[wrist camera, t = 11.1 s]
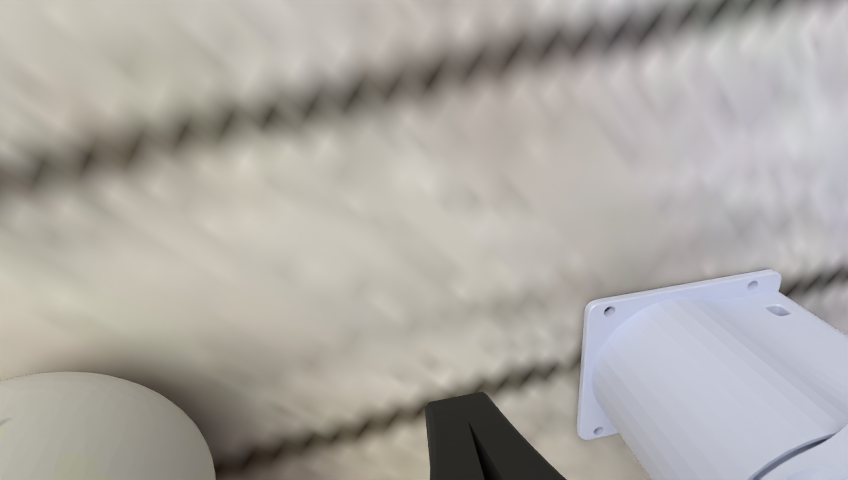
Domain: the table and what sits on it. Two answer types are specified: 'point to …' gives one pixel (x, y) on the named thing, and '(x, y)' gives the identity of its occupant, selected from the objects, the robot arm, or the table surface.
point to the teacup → (95, 431)
